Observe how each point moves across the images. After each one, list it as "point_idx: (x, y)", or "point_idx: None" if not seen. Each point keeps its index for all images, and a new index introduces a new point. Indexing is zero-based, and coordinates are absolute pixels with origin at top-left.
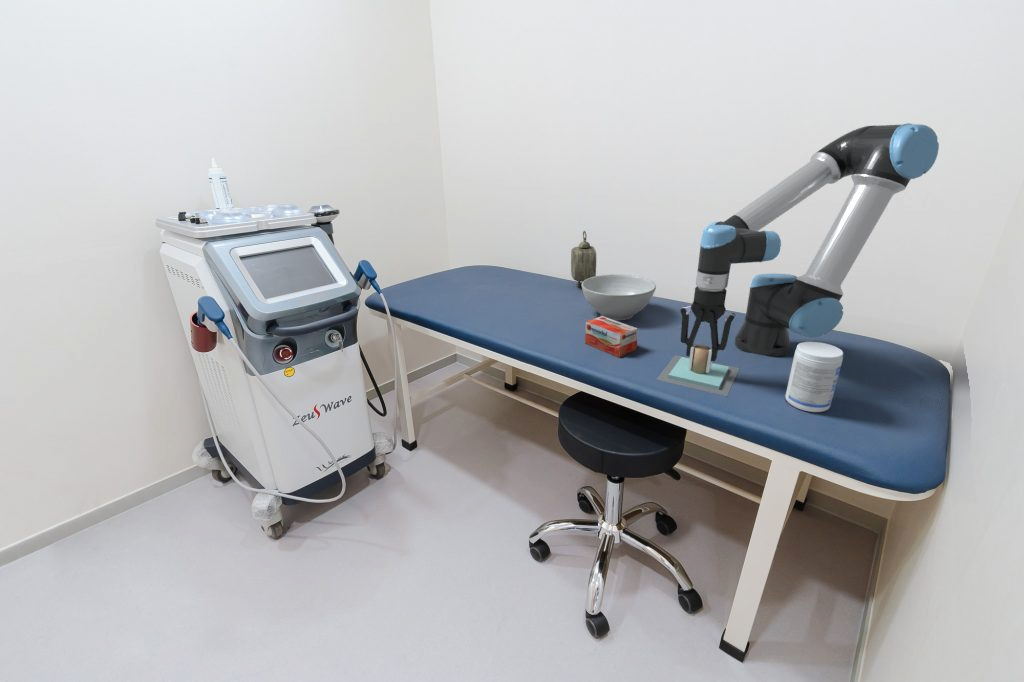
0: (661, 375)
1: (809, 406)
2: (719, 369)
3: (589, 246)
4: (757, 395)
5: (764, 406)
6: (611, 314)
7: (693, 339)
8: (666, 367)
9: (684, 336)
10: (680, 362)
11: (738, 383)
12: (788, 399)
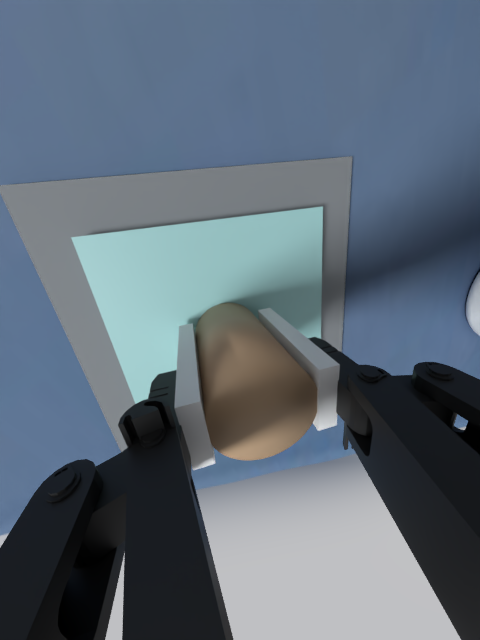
0: (119, 430)
1: None
2: (293, 266)
3: None
4: (402, 328)
5: (413, 368)
6: None
7: (211, 555)
8: (84, 363)
9: (96, 625)
10: (115, 310)
11: (353, 290)
12: (478, 327)
